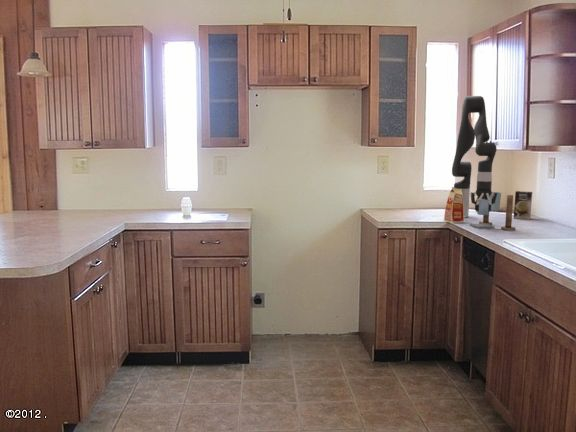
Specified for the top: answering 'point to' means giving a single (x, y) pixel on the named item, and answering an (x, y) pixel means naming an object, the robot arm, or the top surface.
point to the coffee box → (522, 205)
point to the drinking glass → (496, 202)
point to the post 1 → (486, 220)
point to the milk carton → (455, 207)
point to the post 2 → (509, 214)
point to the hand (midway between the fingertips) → (482, 211)
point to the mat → (482, 226)
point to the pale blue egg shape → (483, 207)
